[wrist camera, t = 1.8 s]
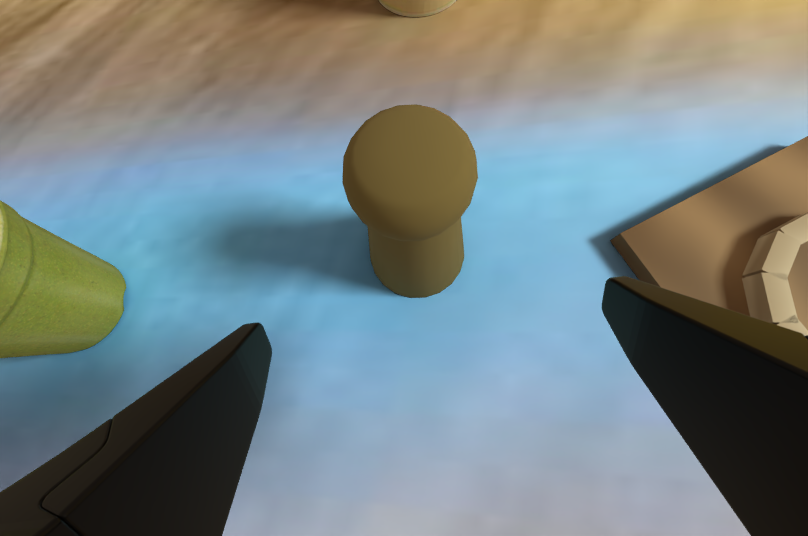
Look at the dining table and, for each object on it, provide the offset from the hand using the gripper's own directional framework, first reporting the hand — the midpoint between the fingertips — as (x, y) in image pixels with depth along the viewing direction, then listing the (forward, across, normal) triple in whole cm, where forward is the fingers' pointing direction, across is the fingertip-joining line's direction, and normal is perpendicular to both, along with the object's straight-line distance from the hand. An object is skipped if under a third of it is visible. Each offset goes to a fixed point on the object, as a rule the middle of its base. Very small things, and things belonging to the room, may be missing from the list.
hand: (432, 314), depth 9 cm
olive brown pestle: (+13, 0, +5) cm, 14 cm away
